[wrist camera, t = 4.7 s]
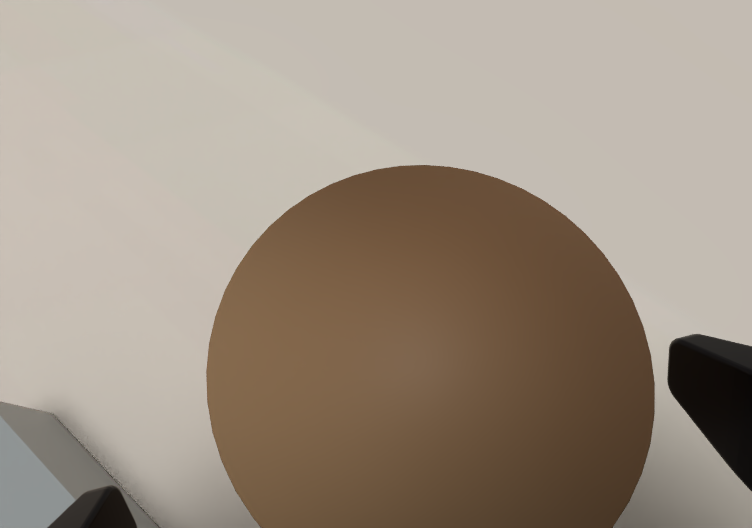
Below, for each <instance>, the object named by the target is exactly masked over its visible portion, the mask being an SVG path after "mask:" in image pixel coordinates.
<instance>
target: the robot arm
mask: <svg viewBox="0 0 752 528" xmlns="http://www.w3.org/2000/svg"><path fill="white" fill-rule="evenodd" d="M667 379H668V386H669V389H670V391H671V393H672V395H673V396H674V398H675V399H676V400H677V401H678V403H679V404H680V405H681V406H682V408H683V409H684V410H685V411H686V413H687V414H688V415H689V417H690V418H691V419H692V420H693V422H694V423H695V424H696V425H697V427H698V428H699V429H700V430H701V432H702V433H703V434H704V435H705V437H706V438H707V439H708V441H709V442H710V443H711V444H712V446H713V447H714V448H715V449H716V451H717V452H718V453H719V454H720V456H721V457H722V458H723V459H724V461H725V462H726V463H727V464H728V465H729V467H730V468H731V469H732V470H733V471H734V473H735V474H736V475H737V476H738V477H739V478H740V479H741V480H742V482H743V483H744V484H745V485H746V486H747V487H748V488H749V489H750V490H751V491H752V346H748V345H743V344H739V343H735V342H731V341H726V340H722V339H718V338H714V337H709V336H705V335H701V334H693V335H689V336H685V337H681V338H677V339H675V340H673V341H672V342H671V344H670V347H669V361H668V378H667ZM47 528H137V524H136V521H135V519H134V517H133V515H132V513H131V511H130V509H129V507H128V505H127V503H126V501H125V499H124V497H123V494H122V492H121V491H120V489H119V488H118V487H117V486H115V485H107V486H104V487H100V488H96V489H92V490H89V491H86V492H84V493H83V494H82V495H81V496H80V497H79V498H78V499H77V500H76V501H74V502H73V503H72V504H71V505H70V506H69V507H68V508H67V509H66V510H65V511H64V512H63V513H62V514H61V515H60V516H59V517H58V518H57V519H56V520H55V521H54V522H52V523H51V524H50V525H49V526H48V527H47Z"/></svg>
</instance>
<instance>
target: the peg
mask: <svg viewBox="0 0 752 528" xmlns="http://www.w3.org/2000/svg"><path fill="white" fill-rule="evenodd" d="M206 374H207V402H208V408H209V414H210V419H211V425H212V431H213V435H214V438H215V441H216V444H217V448H218V451H219V454H220V457H221V460H222V463H223V465H224V467H225V469H226V471H227V474H228V476H229V478H230V480H231V482H232V484H233V486H234V488H235V491H236V492H237V494H238V495H239V497H240V498H241V500H242V501H243V503H244V504H245V506H246V508H247V509H248V511H249V512H250V514H251V515H252V517H253V518H254V520H255V521H256V522H257V523H258V524H259V525H260V526H261V528H612V527H613V526H614V524H615V523H616V521H617V520H618V518H619V517H620V515H621V514H622V512H623V510H624V509H625V507H626V506H627V504H628V503H629V501H630V498H631V496H632V494H633V492H634V490H635V487H636V485H637V483H638V481H639V479H640V476H641V474H642V471H643V468H644V464H645V461H646V457H647V454H648V450H649V447H650V442H651V435H652V428H653V421H654V376H653V369H652V361H651V354H650V350H649V347H648V343H647V339H646V335H645V331H644V328H643V325H642V322H641V320H640V317H639V315H638V312H637V310H636V307H635V305H634V302H633V300H632V298H631V296H630V295H629V293H628V291H627V289H626V287H625V286H624V284H623V282H622V280H621V278H620V276H619V275H618V273H617V272H616V271H615V269H614V268H613V266H612V265H611V264H610V262H609V261H608V259H607V258H606V257H605V255H604V254H603V253H602V252H601V250H600V249H599V248H598V247H597V246H596V245H595V244H594V243H593V242H592V240H590V238H589V237H588V236H587V235H586V234H585V233H584V232H583V231H582V230H581V229H580V228H578V227H577V226H576V225H575V224H574V223H573V222H572V221H570V220H569V219H568V218H567V217H566V216H565V215H563V214H562V213H561V212H559V211H558V210H556V209H555V208H553V207H552V206H551V205H549V204H548V203H546V202H545V201H543V200H542V199H540V198H538V197H536V196H534V195H533V194H531V193H529V192H527V191H525V190H524V189H522V188H519V187H517V186H515V185H512V184H510V183H507V182H505V181H503V180H500V179H498V178H494V177H491V176H488V175H484V174H481V173H478V172H474V171H469V170H464V169H458V168H453V167H444V166H430V165H415V166H398V167H391V168H384V169H377V170H373V171H369V172H365V173H362V174H358V175H354V176H351V177H349V178H346V179H343V180H341V181H338V182H336V183H333V184H331V185H329V186H327V187H325V188H323V189H321V190H319V191H317V192H315V193H313V194H311V195H310V196H308V197H306V198H305V199H304V200H302V201H301V202H299V203H298V204H296V205H295V206H293V207H292V208H290V209H289V210H288V211H287V212H285V213H284V214H283V215H282V216H281V217H280V218H279V219H277V220H276V221H275V222H274V223H273V224H272V225H271V226H269V227H268V229H267V230H266V231H265V232H264V233H263V234H262V235H261V236H260V238H259V239H258V240H257V241H256V242H255V243H254V244H253V245H252V247H251V248H250V250H249V251H248V252H247V254H246V255H245V257H244V258H243V260H242V261H241V263H240V264H239V265H238V267H237V269H236V271H235V273H234V274H233V276H232V278H231V280H230V282H229V284H228V286H227V288H226V290H225V292H224V295H223V297H222V300H221V303H220V306H219V308H218V311H217V314H216V316H215V321H214V325H213V329H212V334H211V338H210V342H209V351H208V361H207V372H206Z"/></svg>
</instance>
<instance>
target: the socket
mask: <svg viewBox="0 0 752 528" xmlns="http://www.w3.org/2000/svg"><path fill="white" fill-rule="evenodd" d="M107 485H115V486H117V487H118V488H119V489H120V491H121V492H122V494H123V497H124V499H125V501H126V503H127V505H128V507H129V509H130V511H131V513H132V515H133V517H134V519H135V521H136V524H137V528H159V527H158V526H157V525H156V524H155V523H154V522H153V521H152V519H151V518H150V517H149V516H148V515H147V514H146V513H145V512H144V511H143V510H142V509H141V508H140V507H139V506H138V505H137V504H136V502H135V501H134V500H133V499H132V498H131V497H130V496H129V495H128V494H127V493H126V492H125V491H124V490H123V489H122V488H121V487H120V485H119V484H118V483H117V482H116V481H115V480H114V479H113V478H112V477H111V476H110V475H109V474H108V473H107V472H106V471H105V469H104V468H103V467H102V466H101V465H100V464H99V463H98V462H97V461H96V460H95V459H94V458H93V457H92V456H91V455H90V454H89V452H88V451H87V450H86V449H85V448H84V447H83V446H82V445H81V444H80V443H79V442H78V441H77V440H76V439H75V438H74V437H73V435H72V434H71V433H70V432H69V431H68V430H67V429H66V428H65V427H64V426H63V425H62V424H61V423H60V422H59V421H58V420H57V418H56V417H55V416H54V415H53V414H52V413H48V412H44V411H40V410H35V409H31V408H26V407H22V406H18V405H13V404H9V403H4V402H0V528H47V527H48V526H49V525H50V524H51V523H52V522H54V521H55V520H56V519H57V518H58V517H59V516H60V515H61V514H62V513H63V512H64V511H65V510H66V509H67V508H68V507H69V506H70V505H71V504H72V503H73V502H74V501H76V500H77V499H78V498H79V497H80V496H81V495H82V494H83V493H84V492H86V491H89V490H92V489H96V488H100V487H104V486H107Z"/></svg>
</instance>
